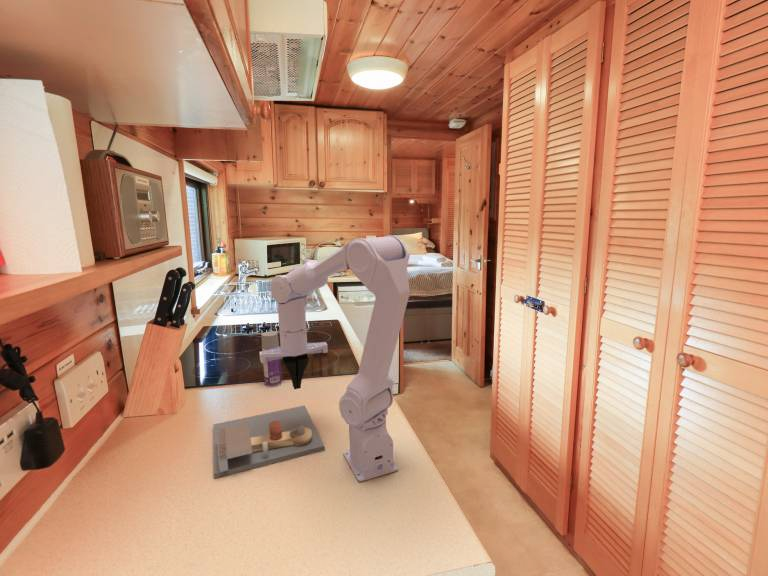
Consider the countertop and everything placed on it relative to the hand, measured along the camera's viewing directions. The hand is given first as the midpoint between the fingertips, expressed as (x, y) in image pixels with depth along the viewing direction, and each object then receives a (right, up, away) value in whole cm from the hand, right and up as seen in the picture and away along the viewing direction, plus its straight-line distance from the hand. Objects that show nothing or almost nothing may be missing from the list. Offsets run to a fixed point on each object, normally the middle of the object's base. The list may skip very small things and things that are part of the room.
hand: (296, 387), depth 88 cm
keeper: (-10, -12, -10) cm, 19 cm away
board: (-6, -11, -2) cm, 13 cm away
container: (-12, -6, +25) cm, 29 cm away
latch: (-3, -10, -7) cm, 12 cm away
